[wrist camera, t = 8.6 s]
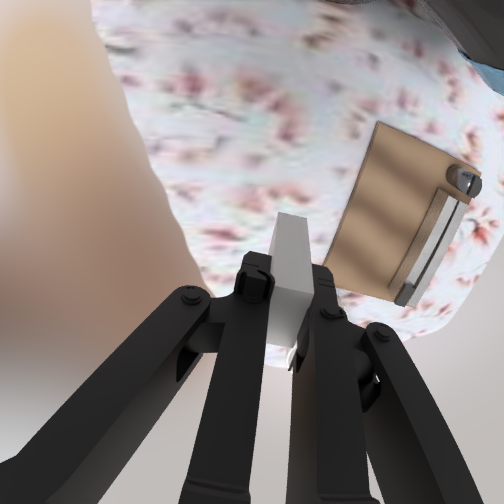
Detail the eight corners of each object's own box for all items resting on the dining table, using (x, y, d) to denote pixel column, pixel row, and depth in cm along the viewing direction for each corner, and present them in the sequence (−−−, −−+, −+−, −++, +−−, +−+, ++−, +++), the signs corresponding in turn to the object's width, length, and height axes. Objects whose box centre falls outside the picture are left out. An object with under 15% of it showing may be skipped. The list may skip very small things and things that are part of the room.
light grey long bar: (438, 187, 35) (451, 197, 31) (447, 192, 35) (461, 202, 31) (387, 288, 42) (394, 304, 39) (396, 291, 42) (404, 307, 39)
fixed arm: (450, 160, 33) (471, 171, 28) (467, 169, 33) (489, 181, 29) (391, 288, 42) (401, 312, 38) (408, 293, 42) (419, 316, 38)
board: (377, 122, 34) (380, 123, 32) (477, 170, 34) (481, 172, 33) (317, 277, 44) (318, 282, 43) (412, 303, 45) (414, 307, 43)
